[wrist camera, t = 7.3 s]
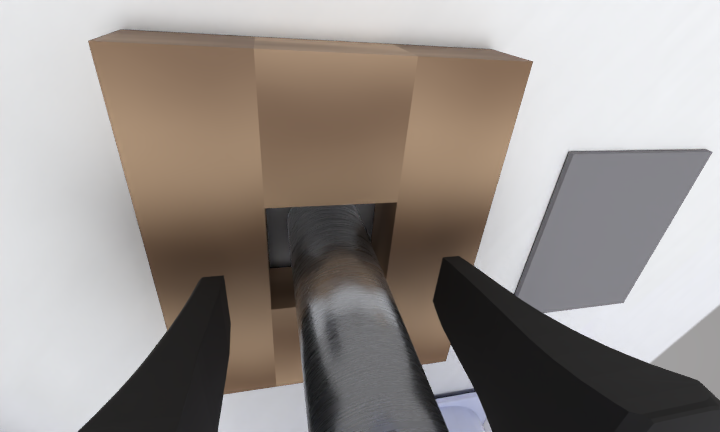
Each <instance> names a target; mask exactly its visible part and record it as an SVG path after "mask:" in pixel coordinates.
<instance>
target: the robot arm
mask: <svg viewBox="0 0 720 432" xmlns="http://www.w3.org/2000/svg"><path fill="white" fill-rule="evenodd" d="M433 304H434V307H435V310H436V312H437V315H438V318H439V320H440V323H441V326H442V328H443V330H444V332H445V334H446V336H447V338H448V340H449V342H450V344H451V345H452V347H453V349H454V351H455V353H456V355H457V357H458V359H459V361H460V362H461V364H462V366H463V368H464V370H465V372H466V374H467V376H468V377H469V379H470V381H471V383H472V385H473V387H474V389H475V391H476V392H473V393H467V394H461V395H455V396H450V397H444V398H438V399H436V402H437V404H438V407H439V409H440V411H441V414H442V416H443V419H444V421H445V423H446V426H447V428H448V431H449V432H485V430H484V428H483V424H484V421H485V419H486V417H487V419H488V422H489V424H490V427H491V430H492V432H720V400H719V399H718V398H716V397H715V396H714V395H713V394H712V393H711V392H710V391H709V390H708V389H707V388H706V387H705V386H703V384H702V383H700V382H699V381H698V380H695V379H692V378H690V377H687V376H684V375H681V374H678V373H675V372H672V371H669V370H666V369H663V368H660V367H657V366H654V365H651V364H649V363H646V362H644V361H641V360H639V359H636V358H634V357H631V356H629V355H626V354H624V353H621V352H619V351H617V350H614V349H612V348H610V347H607V346H605V345H603V344H601V343H599V342H597V341H595V340H592V339H590V338H588V337H586V336H584V335H582V334H580V333H578V332H576V331H574V330H572V329H570V328H568V327H567V326H565V325H563V324H561V323H559V322H558V321H556V320H554V319H552V318H550V317H549V316H547V315H545V314H543V313H542V312H540V311H539V310H537V309H535V308H534V307H532V306H531V305H529V304H528V303H526V302H524V301H523V300H521V299H520V298H518V297H517V296H515V295H514V294H512V293H511V292H509V291H508V290H507V289H505V288H504V287H502V286H501V285H499V284H498V283H497V282H495V281H494V280H492V279H491V278H490V277H488V276H487V275H486V274H484V273H483V272H481V271H480V270H479V269H477V268H476V267H474V266H473V265H472V264H470V263H469V262H467V261H466V260H464V259H463V258H461V257H460V256H452V257H443V258H442V263H441V267H440V271H439V276H438V280H437V284H436V288H435V293H434V297H433ZM230 333H231V321H230V314H229V307H228V300H227V294H226V287H225V280H224V275H222V276H210V277H202V278H201V279H200V280H199V281H198V283H197V285H196V287H195V289H194V290H193V292H192V294H191V296H190V297H189V299H188V301H187V302H186V304H185V305H184V307H183V308H182V310H181V312H180V313H179V315H178V316H177V317H176V319H175V320H174V322H173V323H172V325H171V326H170V328H169V329H168V331H167V332H166V333H165V335H164V336H163V337H162V339H161V340H160V341H159V343H158V344H157V345H156V347H155V348H154V349H153V351H152V352H151V353H150V354H149V356H148V357H147V358H146V360H145V361H144V362H143V363H142V364H141V366H140V367H139V368H138V369H137V370H136V372H135V373H134V374H133V375H132V376H131V377H130V378H129V380H128V381H127V382H126V383H125V384H124V385H123V386H122V387H121V388H120V390H119V391H118V392H117V393H116V394H115V395H114V396H113V397H112V398H111V399H110V400H109V401H108V402H107V403H106V404H105V405H104V406H103V407H102V408H101V409H100V410H99V411H98V412H97V413H96V414H95V415H94V416H93V417H92V418H91V419H90V420H89V421H88V422H87V423H86V424H85V425H84V426H83V427H82V428H81V429H80V430H79V431H78V432H218V425H219V419H220V412H221V406H222V400H223V394H224V387H225V381H226V375H227V368H228V362H229V355H230Z"/></svg>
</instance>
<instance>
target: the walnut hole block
mask: <svg viewBox="0 0 720 432" xmlns="http://www.w3.org/2000/svg"><path fill="white" fill-rule="evenodd" d="M88 42H89V46H90V50H91V53H92V57H93V61H94V64H95V68H96V72H97V75H98V79H99V83H100V86H101V90H102V94H103V97H104V101H105V105H106V108H107V112H108V115H109V119H110V123H111V126H112V130H113V134H114V137H115V141H116V145H117V148H118V152H119V156H120V159H121V163H122V167H123V170H124V174H125V178H126V181H127V185H128V189H129V192H130V196H131V199H132V203H133V207H134V210H135V214H136V218H137V221H138V225H139V229H140V232H141V236H142V240H143V243H144V247H145V251H146V254H147V258H148V262H149V265H150V269H151V273H152V276H153V280H154V284H155V287H156V291H157V294H158V298H159V302H160V305H161V309H162V313H163V316H164V320H165V324H166V327H167V331H168V329H169V328H170V326H171V325H172V323H173V322H174V320H175V319H176V317H177V316H178V315H179V313H180V312H181V310H182V308H183V307H184V305H185V304H186V302H187V301H188V299H189V297H190V296H191V294H192V292H193V290H194V289H195V287H196V285H197V283H198V281H199V280H200V279H201V278H202V277H210V276H222V275H224V280H225V287H226V294H227V300H228V307H229V314H230V321H231V333H230V355H229V362H228V368H227V375H226V381H225V387H224V394H230V393H236V392H243V391H250V390H256V389H263V388H270V387H276V386H283V385H290V384H296V383H303V372H302V363H301V353H300V343H299V333H298V324H297V314H296V304H295V295H294V285H293V275H292V267H282V268H270V262H269V246H268V231H267V215H266V208H284V207H306V206H328V205H350V204H372V203H375V211H374V220H373V229H372V239H371V245H372V247H373V249H374V252H375V254H376V257H377V259H378V261H379V264H380V266H381V269H382V271H383V274H384V276H385V278H386V281H387V283H388V286H389V288H390V290H391V293H392V295H393V298H394V300H395V303H396V305H397V307H398V310H399V312H400V315H401V317H402V319H403V322H404V324H405V327H406V329H407V332H408V334H409V336H410V339H411V341H412V344H413V346H414V348H415V351H416V353H417V356H418V358H419V361H420V363H421V365H423V364H430V363H436V362H443V361H446V359H447V355H448V352H449V348H450V345H451V344H450V342H449V340H448V338H447V336H446V334H445V332H444V330H443V328H442V326H441V323H440V320H439V318H438V315H437V312H436V310H435V307H434V304H433V297H434V293H435V288H436V284H437V280H438V276H439V271H440V267H441V263H442V258H443V257H452V256H460V257H461V258H463V259H464V260H466V261H467V262H469V263H470V264H472V265H473V266H474V262H475V259H476V256H477V252H478V249H479V245H480V242H481V238H482V235H483V232H484V228H485V225H486V221H487V218H488V214H489V211H490V208H491V204H492V201H493V197H494V194H495V190H496V187H497V184H498V180H499V177H500V173H501V170H502V166H503V163H504V159H505V156H506V153H507V149H508V146H509V142H510V139H511V135H512V132H513V129H514V125H515V122H516V118H517V115H518V111H519V108H520V105H521V101H522V98H523V94H524V91H525V87H526V84H527V81H528V77H529V74H530V70H531V67H532V63H533V61H529V60H526V59H522V58H519V57H516V56H512V55H509V54H506V53H502V52H499V51H495V50H492V49H476V48H457V47H438V46H419V45H401V44H382V43H363V42H345V41H326V40H307V39H289V38H270V37H251V36H233V35H214V34H195V33H176V32H158V31H139V30H118V31H115V32H112V33H109V34H107V35H104V36H101V37H98V38H95V39H92V40H89V41H88Z"/></svg>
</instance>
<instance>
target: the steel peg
mask: <svg viewBox="0 0 720 432" xmlns="http://www.w3.org/2000/svg"><path fill="white" fill-rule="evenodd" d="M287 227H288V236H289V246H290V256H291V265H292V275H293V285H294V295H295V304H296V314H297V324H298V333H299V343H300V353H301V363H302V372H303V382H304V392H305V401H306V411H307V421H308V431H309V432H449V431H448V428H447V426H446V423H445V421H444V419H443V416H442V414H441V411H440V409H439V407H438V404H437V402H436V399H435V397H434V394H433V392H432V390H431V387H430V385H429V382H428V380H427V377H426V375H425V373H424V370H423V368H422V365H421V363H420V361H419V358H418V356H417V353H416V351H415V348H414V346H413V344H412V341H411V339H410V336H409V334H408V332H407V329H406V327H405V324H404V322H403V319H402V317H401V315H400V312H399V310H398V307H397V305H396V303H395V300H394V298H393V295H392V293H391V290H390V288H389V286H388V283H387V281H386V278H385V276H384V274H383V271H382V269H381V266H380V264H379V261H378V259H377V257H376V254H375V252H374V249H373V247H372V245H371V242H370V240H369V237H368V235H367V232H366V230H365V228H364V225H363V223H362V220H361V218H360V215H359V213H358V211H357V208H356V206H355V204H350V205H328V206H306V207H292V208H291V210H290V212H289V214H288V219H287Z"/></svg>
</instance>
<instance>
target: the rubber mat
mask: <svg viewBox="0 0 720 432" xmlns="http://www.w3.org/2000/svg"><path fill="white" fill-rule="evenodd" d="M711 154H712V152H711V151H709V150H653V151H589V152H569V153H568V156H567V159H566V161H565V164H564V166H563V169H562V172H561V174H560V177H559V180H558V182H557V185H556V187H555V190H554V193H553V195H552V198H551V200H550V203H549V206H548V208H547V211H546V214H545V216H544V219H543V221H542V224H541V227H540V229H539V232H538V234H537V237H536V240H535V242H534V245H533V248H532V250H531V253H530V255H529V258H528V261H527V263H526V266H525V268H524V271H523V274H522V276H521V279H520V282H519V284H518V287H517V289H516V292H515V296H517V297H518V298H520V299H521V300H523V301H524V302H526V303H528V304H529V305H531V306H532V307H534V308H535V309H537V310H539V311H540V312H542V313H547V312H555V311H563V310H571V309H579V308H586V307H594V306H602V305H610V304H618V303H624V301H625V299H626V298H627V296H628V294H629V292H630V291H631V289H632V287H633V286H634V284H635V282H636V281H637V279H638V277H639V276H640V274H641V272H642V270H643V269H644V267H645V265H646V264H647V262H648V260H649V259H650V257H651V255H652V254H653V252H654V250H655V249H656V247H657V245H658V243H659V242H660V240H661V238H662V237H663V235H664V233H665V232H666V230H667V228H668V227H669V225H670V223H671V221H672V220H673V218H674V216H675V215H676V213H677V211H678V210H679V208H680V206H681V205H682V203H683V201H684V199H685V198H686V196H687V194H688V193H689V191H690V189H691V188H692V186H693V184H694V183H695V181H696V179H697V177H698V176H699V174H700V172H701V171H702V169H703V167H704V166H705V164H706V162H707V161H708V159H709V157H710V155H711Z"/></svg>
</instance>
